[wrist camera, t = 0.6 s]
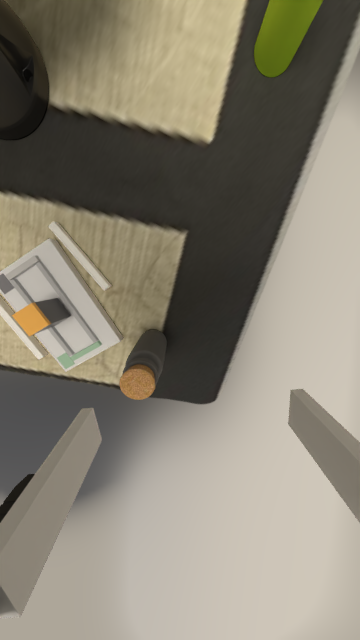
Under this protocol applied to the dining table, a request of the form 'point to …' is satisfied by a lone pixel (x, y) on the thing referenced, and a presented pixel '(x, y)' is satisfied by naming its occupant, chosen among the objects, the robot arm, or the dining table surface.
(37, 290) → the panel
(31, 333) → the knob
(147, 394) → the bottle
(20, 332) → the light grey long bar
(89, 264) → the light grey thin bar
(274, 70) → the soap dispenser
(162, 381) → the dining table surface
